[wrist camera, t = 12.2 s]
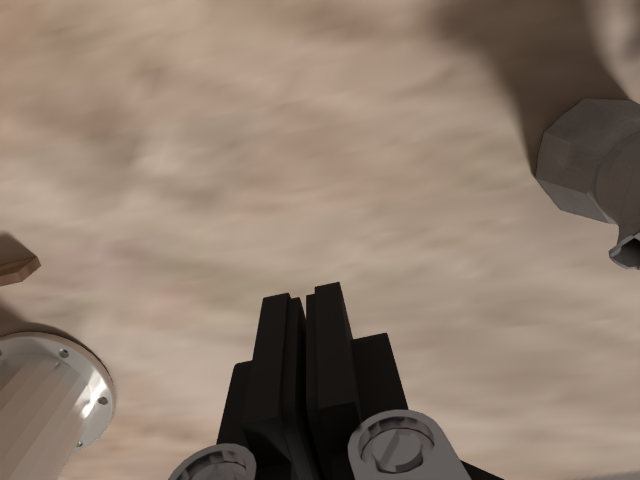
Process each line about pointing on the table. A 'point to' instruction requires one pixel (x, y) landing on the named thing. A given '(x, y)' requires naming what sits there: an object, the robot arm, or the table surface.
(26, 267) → the walnut open-ended frame
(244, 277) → the table surface
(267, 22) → the table surface
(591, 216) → the coffeepot
